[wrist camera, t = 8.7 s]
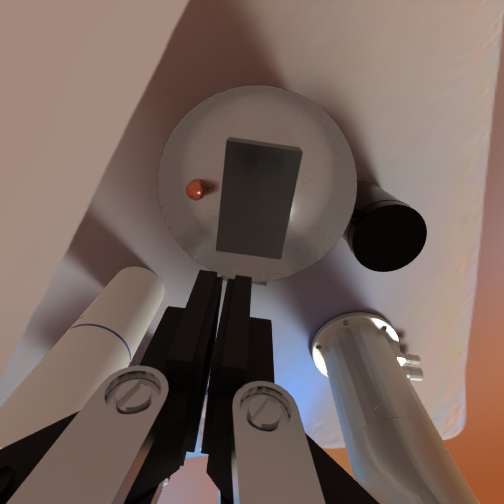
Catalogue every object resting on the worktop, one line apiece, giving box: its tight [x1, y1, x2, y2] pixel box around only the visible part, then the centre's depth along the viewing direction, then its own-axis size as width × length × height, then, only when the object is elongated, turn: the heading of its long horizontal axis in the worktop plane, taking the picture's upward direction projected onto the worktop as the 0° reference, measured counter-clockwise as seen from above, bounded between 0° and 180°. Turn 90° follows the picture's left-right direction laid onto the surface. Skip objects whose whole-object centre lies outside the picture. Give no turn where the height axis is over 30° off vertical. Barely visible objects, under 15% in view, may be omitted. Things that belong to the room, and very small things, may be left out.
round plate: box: [157, 85, 357, 286], centre depth 24 cm, size 16×15×3 cm
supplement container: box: [342, 182, 427, 272], centre depth 34 cm, size 7×7×10 cm
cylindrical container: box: [0, 266, 164, 449], centre depth 33 cm, size 7×7×25 cm
